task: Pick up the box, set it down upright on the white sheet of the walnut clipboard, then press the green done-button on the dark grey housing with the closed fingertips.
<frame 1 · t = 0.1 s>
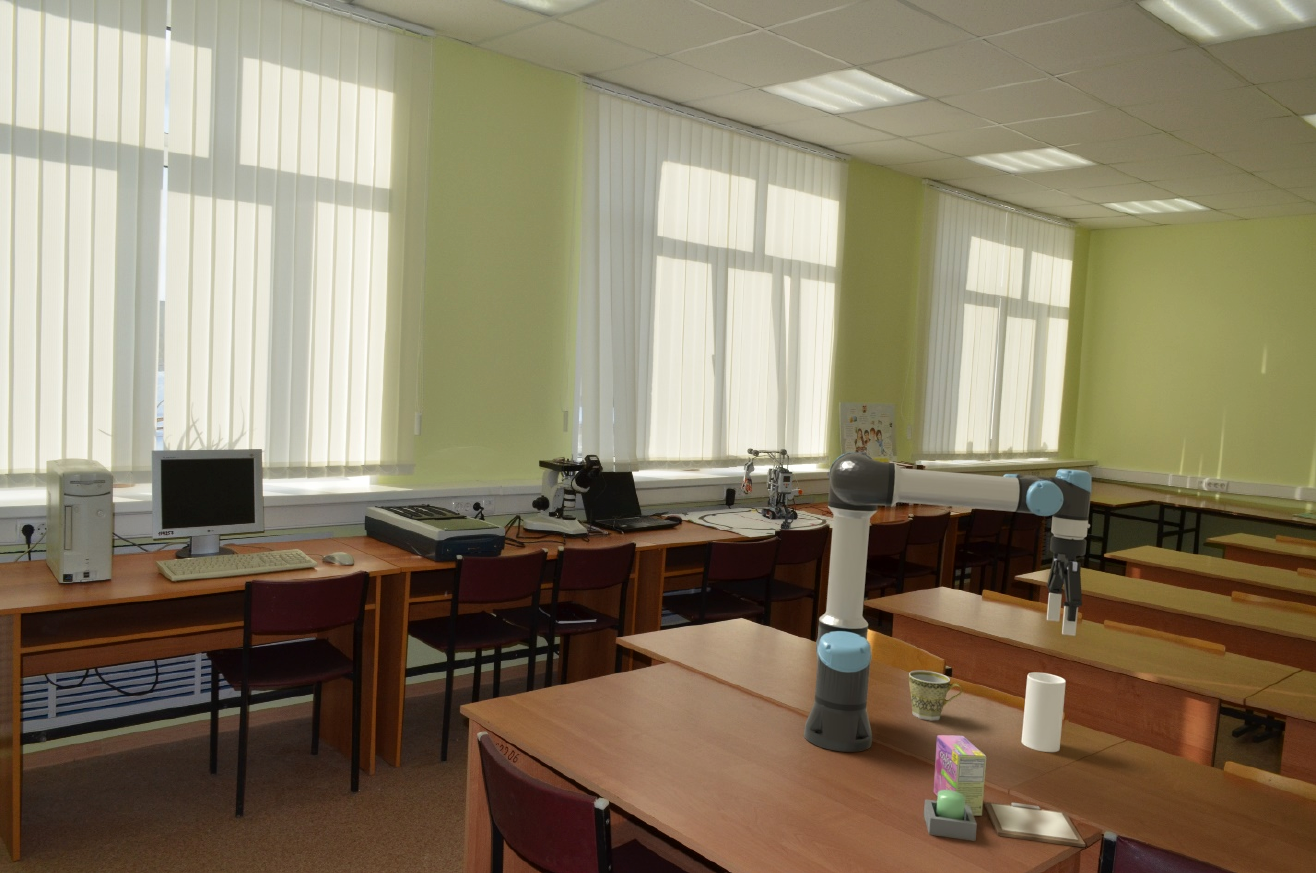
hand: (1060, 627, 213), 28 cm above the table, fingers open, 13 cm apart
cup: (1040, 746, 215), on the table
box: (956, 805, 179), on the table
button housing: (948, 827, 169), on the table
done button: (950, 807, 169), point 4 cm above the table, slide at 0.0 cm
ceramic cup: (932, 718, 229), on the table
clipboard: (1032, 825, 172), on the table
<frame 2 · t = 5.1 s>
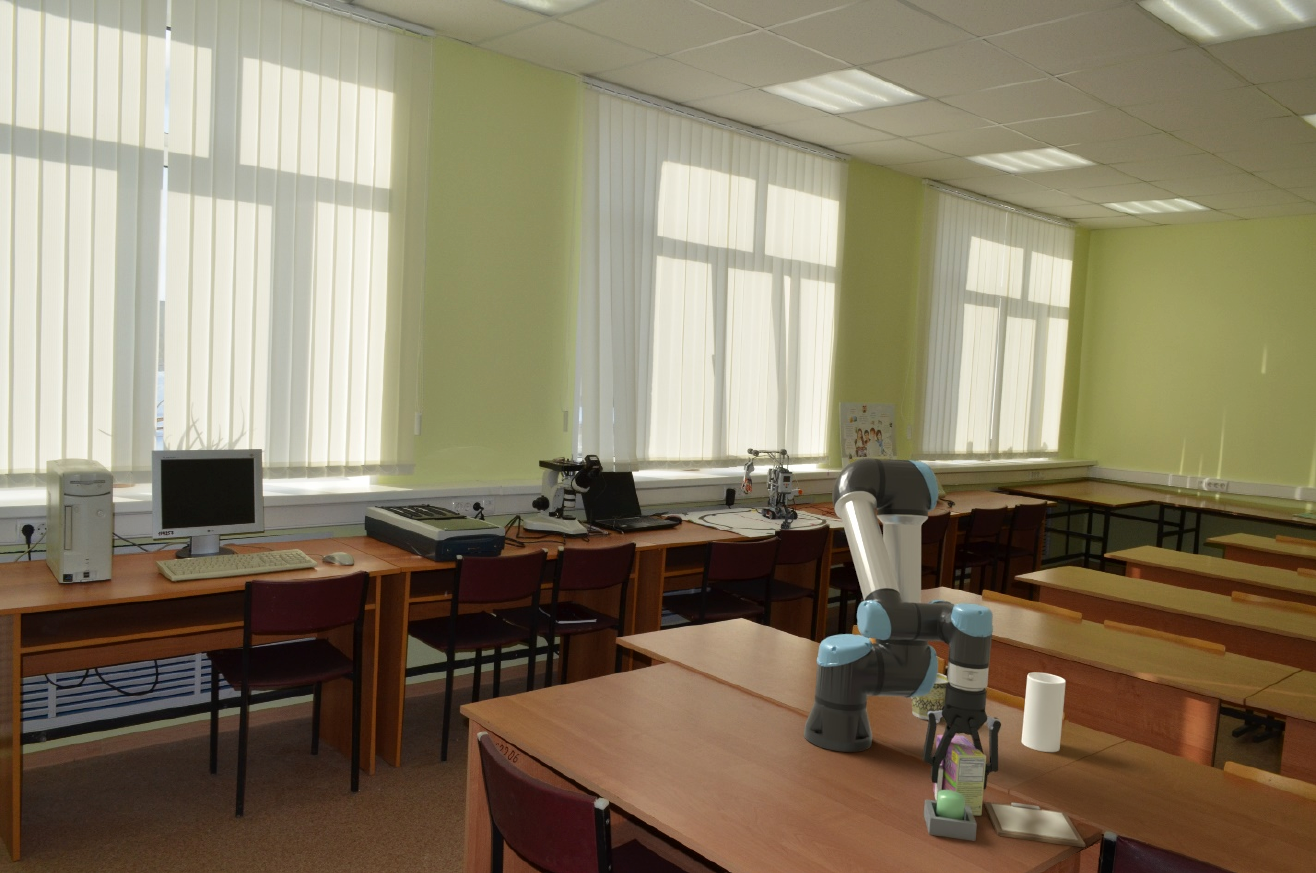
hand: (956, 801, 179), 1 cm above the table, fingers closed on box, 6 cm apart
box: (955, 805, 179), on the table, touching gripper
everything else where it was.
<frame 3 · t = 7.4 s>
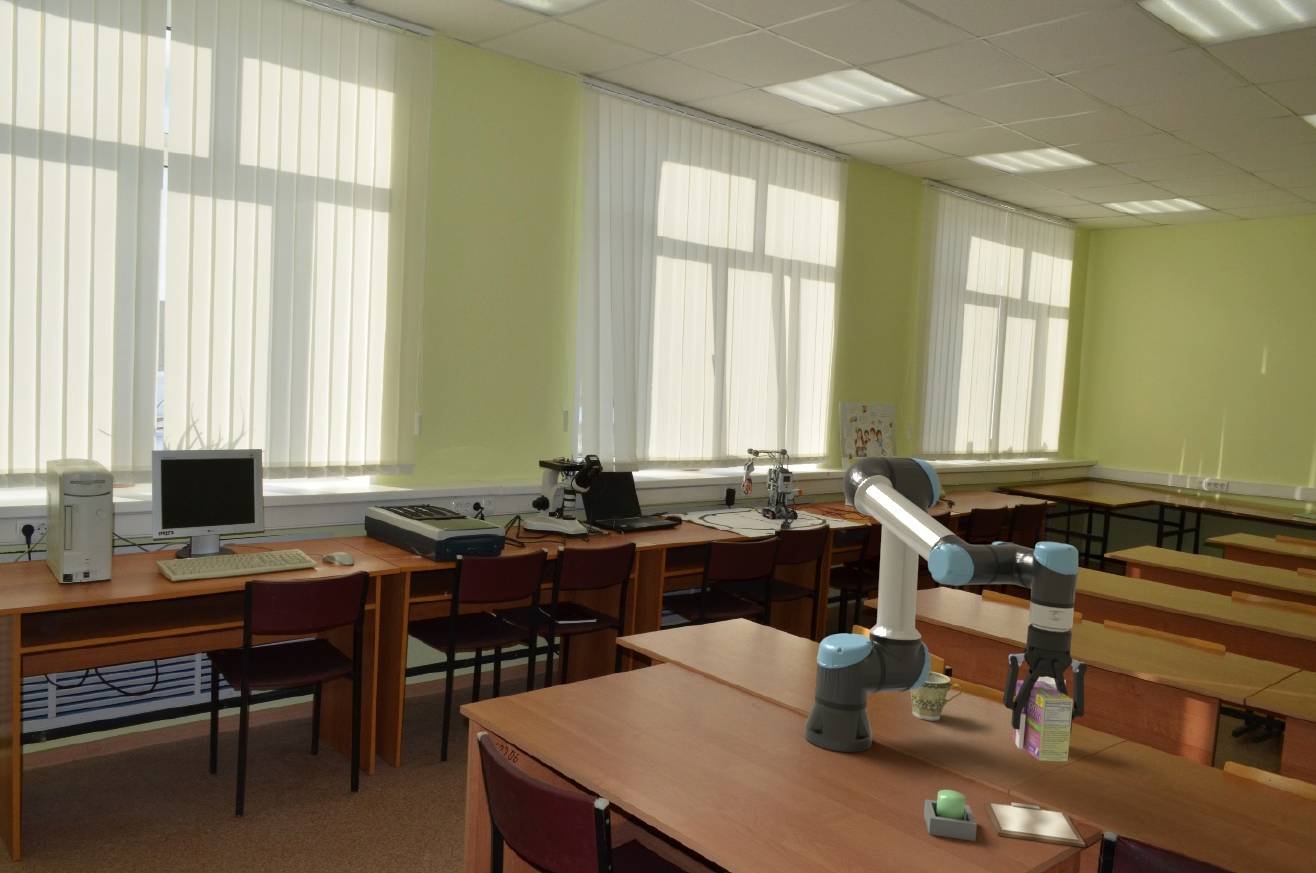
hand: (1039, 748, 172), 15 cm above the table, fingers closed on box, 6 cm apart
box: (1038, 752, 172), point 14 cm above the table, touching gripper
everything else where it was.
when the fingers open (3 cm above the table, at t = 9.8 s): box drops 1 cm, resting on clipboard.
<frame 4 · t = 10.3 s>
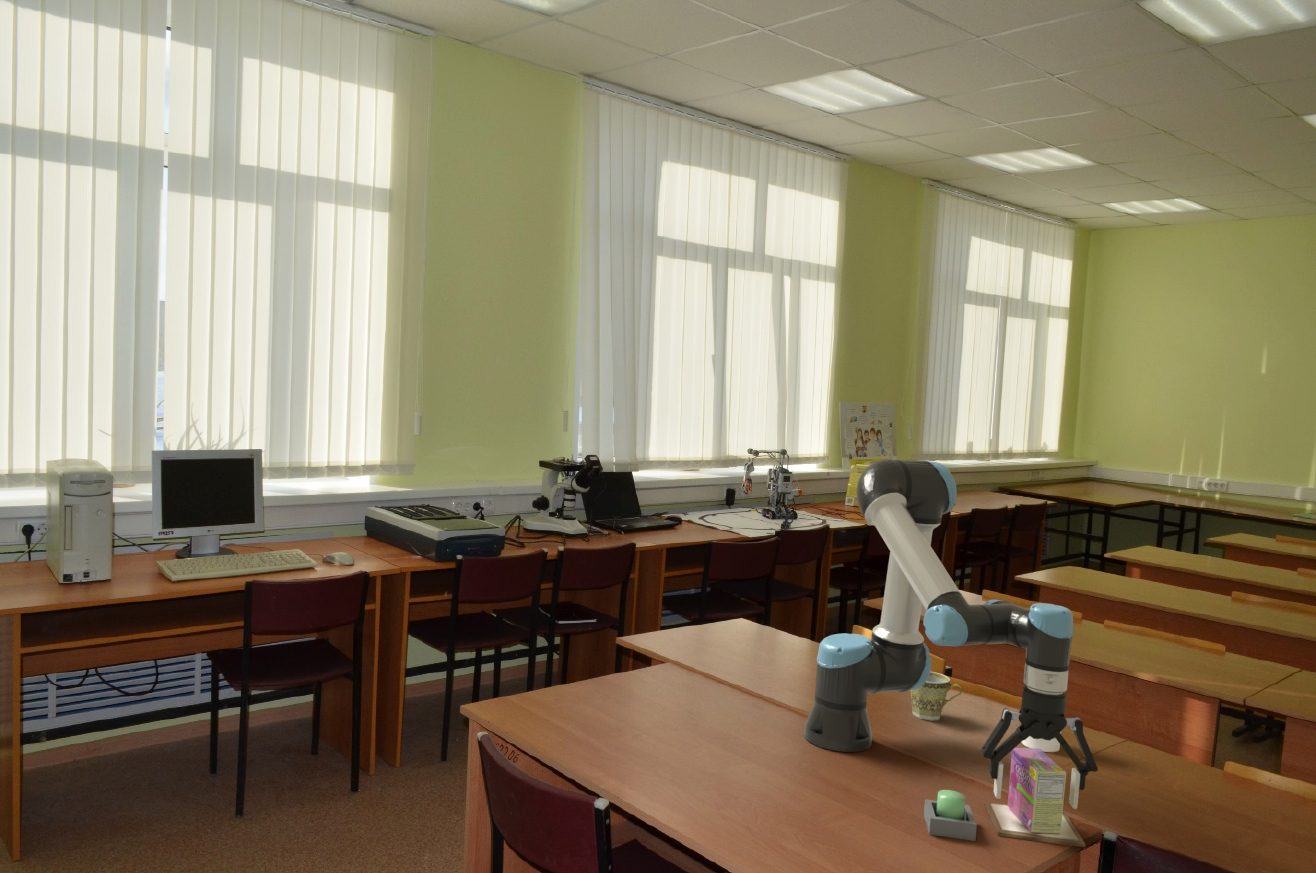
hand: (1034, 800, 172), 5 cm above the table, fingers open, 13 cm apart
box: (1032, 821, 172), point 1 cm above the table, touching clipboard
everything else where it was.
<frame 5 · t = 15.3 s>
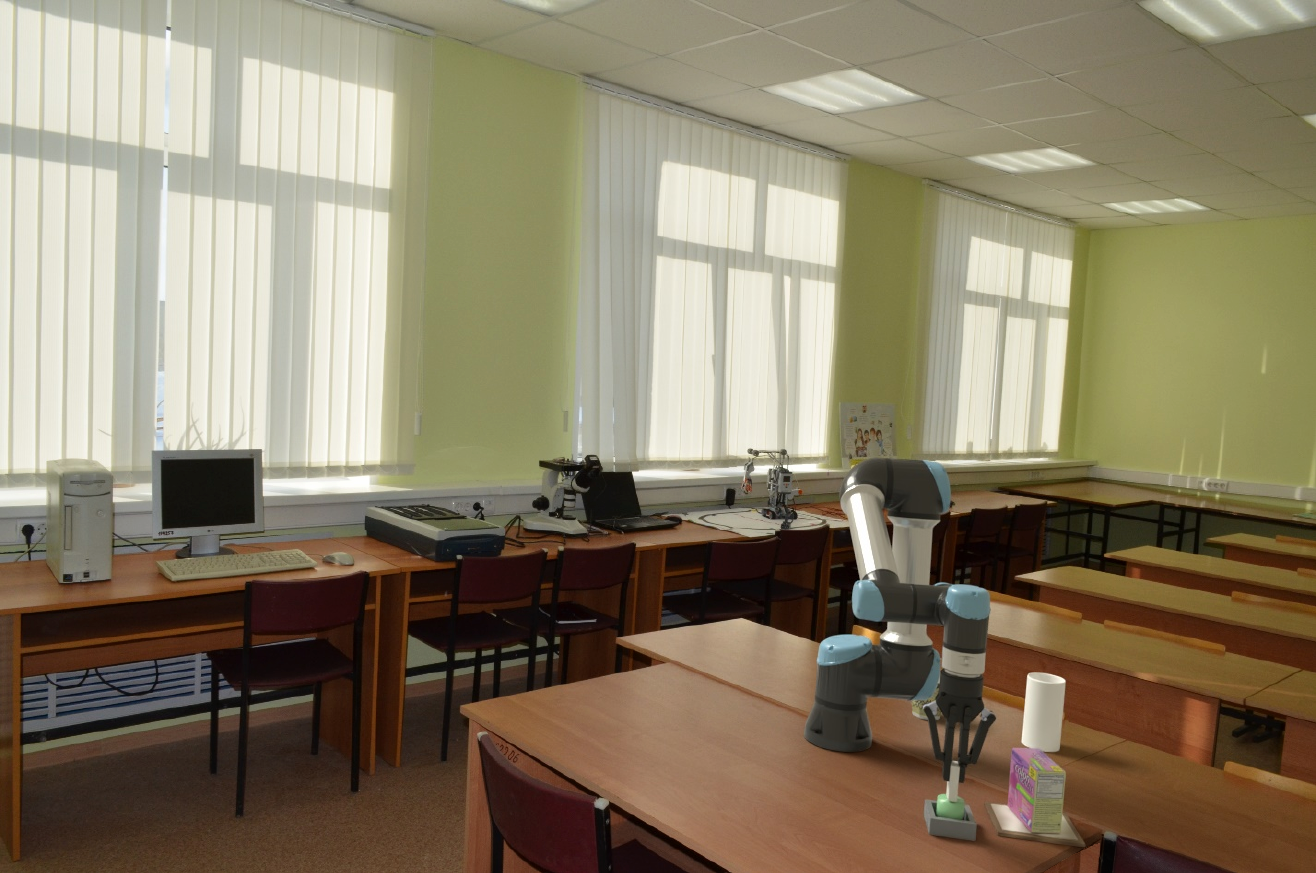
hand: (951, 798, 169), 6 cm above the table, fingers closed
done button: (950, 811, 169), point 3 cm above the table, slide at 0.7 cm, touching gripper
everything else where it was.
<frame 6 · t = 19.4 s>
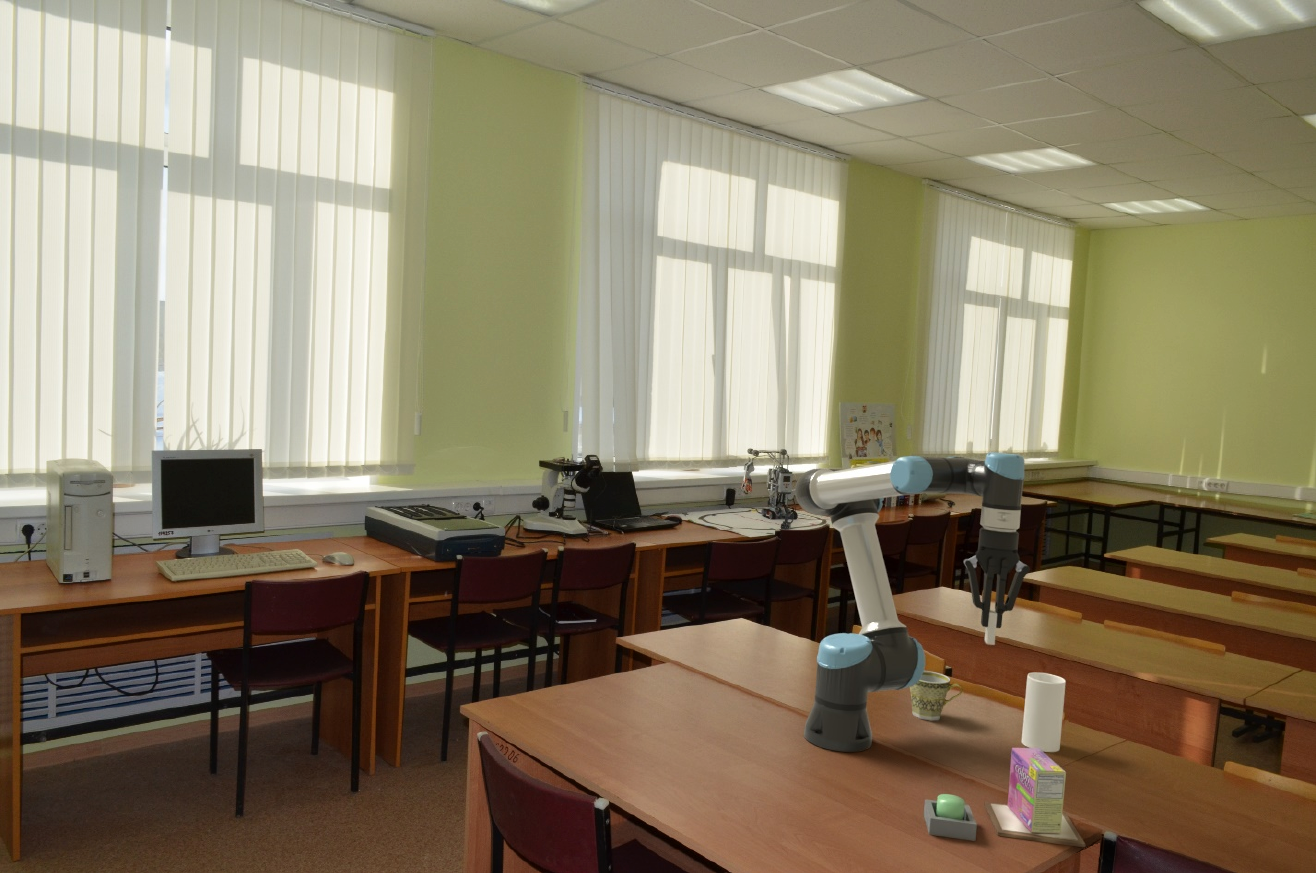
hand: (989, 642, 189), 29 cm above the table, fingers closed
done button: (950, 811, 169), point 3 cm above the table, slide at 0.8 cm
everything else where it was.
at the end: box inside the target area on the clipboard (0.1 cm from its centre), point 0.8 cm above the clipboard's base; box tilted 2°; done button slide at 0.8 cm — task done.
